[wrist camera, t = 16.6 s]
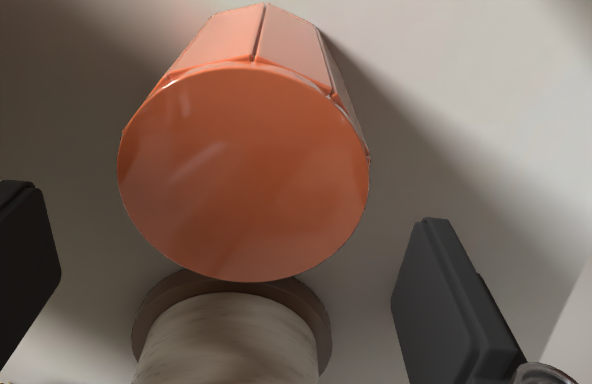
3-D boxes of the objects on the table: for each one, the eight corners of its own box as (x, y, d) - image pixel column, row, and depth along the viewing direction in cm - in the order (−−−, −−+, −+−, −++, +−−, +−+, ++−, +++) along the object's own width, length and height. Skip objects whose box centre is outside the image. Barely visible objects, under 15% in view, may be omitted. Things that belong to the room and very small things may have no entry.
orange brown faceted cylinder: (155, 27, 18) (61, 101, 11) (326, -13, 17) (358, 36, 10) (207, 169, 22) (166, 299, 14) (350, 141, 21) (386, 262, 14)
